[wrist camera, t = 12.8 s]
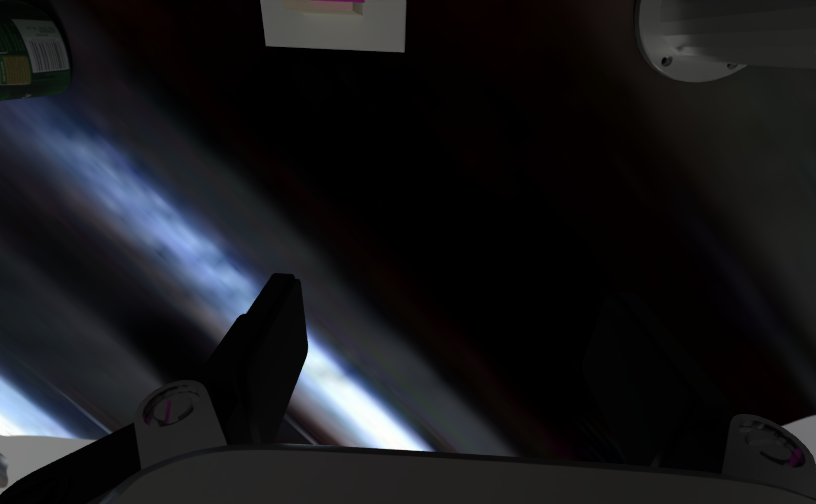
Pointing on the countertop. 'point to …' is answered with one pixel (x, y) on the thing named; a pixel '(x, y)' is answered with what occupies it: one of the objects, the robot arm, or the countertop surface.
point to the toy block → (344, 0)
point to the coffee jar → (31, 53)
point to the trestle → (335, 24)
